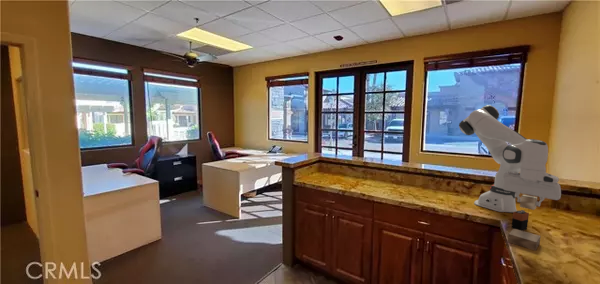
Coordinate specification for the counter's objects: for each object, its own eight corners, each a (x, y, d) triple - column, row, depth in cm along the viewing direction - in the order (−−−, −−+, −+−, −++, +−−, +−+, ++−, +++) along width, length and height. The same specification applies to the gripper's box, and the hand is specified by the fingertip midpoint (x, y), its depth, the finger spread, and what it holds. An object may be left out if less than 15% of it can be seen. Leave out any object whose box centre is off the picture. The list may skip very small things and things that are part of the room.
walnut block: (507, 241, 124) (508, 233, 124) (512, 236, 131) (513, 228, 130) (535, 250, 117) (536, 242, 116) (539, 243, 123) (540, 235, 123)
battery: (510, 228, 140) (513, 210, 139) (517, 226, 143) (519, 208, 142) (520, 231, 136) (522, 213, 135) (527, 229, 139) (529, 211, 138)
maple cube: (519, 206, 122) (521, 196, 122) (522, 204, 125) (523, 194, 125) (533, 210, 118) (535, 199, 118) (536, 207, 121) (537, 197, 121)
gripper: (502, 171, 126) (499, 199, 128) (561, 180, 110) (557, 212, 112) (505, 169, 130) (502, 196, 132) (563, 178, 114) (559, 208, 116)
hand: (528, 203), depth 122 cm, fingers closed on maple cube, 5 cm apart
